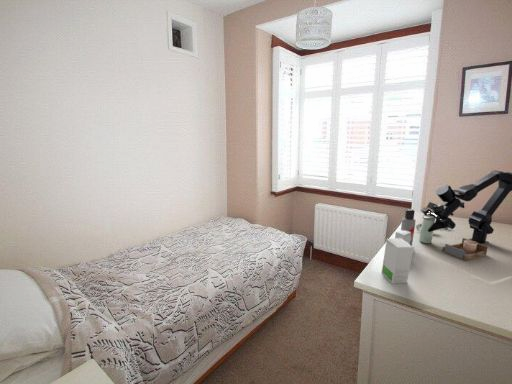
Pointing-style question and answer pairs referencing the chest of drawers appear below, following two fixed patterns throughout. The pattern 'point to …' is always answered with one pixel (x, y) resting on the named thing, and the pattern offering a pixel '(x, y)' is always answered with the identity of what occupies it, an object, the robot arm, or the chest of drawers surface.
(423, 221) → the mint green grey canister
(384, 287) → the chest of drawers surface
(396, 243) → the skincare box
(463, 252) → the bar
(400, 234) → the skincare box
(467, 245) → the jar
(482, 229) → the robot arm
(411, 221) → the lotion bottle
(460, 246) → the wooden tray
